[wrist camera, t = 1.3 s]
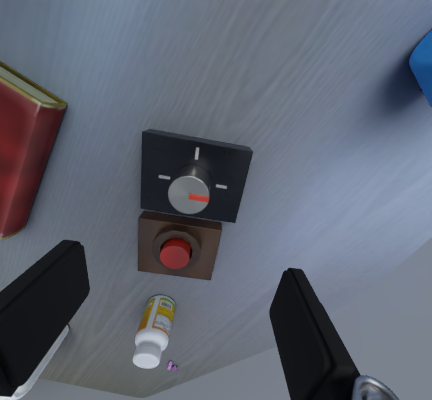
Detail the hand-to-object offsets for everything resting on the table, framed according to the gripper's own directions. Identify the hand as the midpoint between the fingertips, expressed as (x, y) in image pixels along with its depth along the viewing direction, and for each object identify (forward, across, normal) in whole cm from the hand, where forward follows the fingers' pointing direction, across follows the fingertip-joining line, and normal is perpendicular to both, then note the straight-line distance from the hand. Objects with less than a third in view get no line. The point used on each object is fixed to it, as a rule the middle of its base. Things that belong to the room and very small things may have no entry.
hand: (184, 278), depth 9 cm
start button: (+16, +3, +12) cm, 20 cm away
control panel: (+20, +1, +1) cm, 20 cm away
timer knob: (+17, +1, +1) cm, 17 cm away
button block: (+20, +3, +13) cm, 24 cm away
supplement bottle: (+20, +5, +28) cm, 35 cm away
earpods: (+20, +2, +48) cm, 52 cm away
